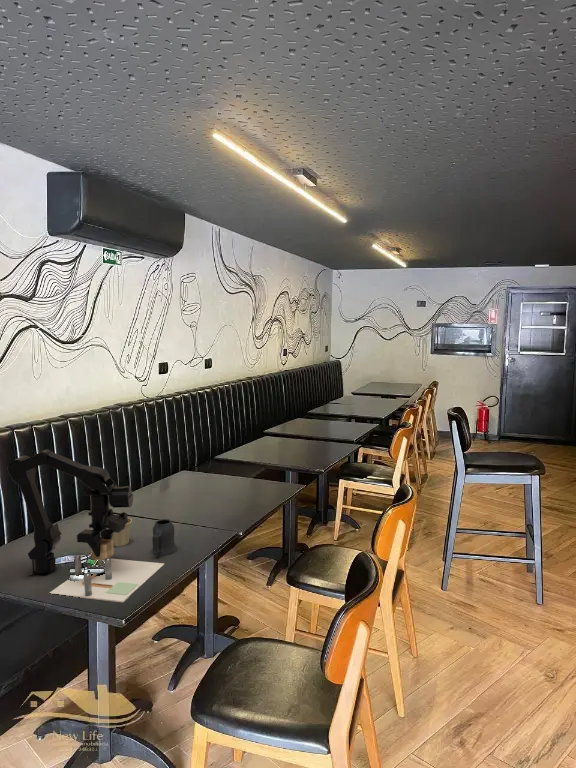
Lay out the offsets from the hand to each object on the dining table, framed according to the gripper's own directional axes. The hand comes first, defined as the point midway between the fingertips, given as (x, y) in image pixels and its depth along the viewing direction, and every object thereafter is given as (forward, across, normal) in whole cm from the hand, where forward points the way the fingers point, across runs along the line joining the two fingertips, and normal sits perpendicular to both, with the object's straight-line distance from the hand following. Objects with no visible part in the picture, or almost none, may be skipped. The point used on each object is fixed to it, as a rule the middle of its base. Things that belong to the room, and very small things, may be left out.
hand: (102, 553), depth 182 cm
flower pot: (+6, +22, +7) cm, 24 cm away
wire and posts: (+6, -9, -2) cm, 11 cm away
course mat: (+6, -5, -6) cm, 10 cm away
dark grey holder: (+6, +17, -13) cm, 22 cm away
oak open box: (+1, 0, 0) cm, 1 cm away
